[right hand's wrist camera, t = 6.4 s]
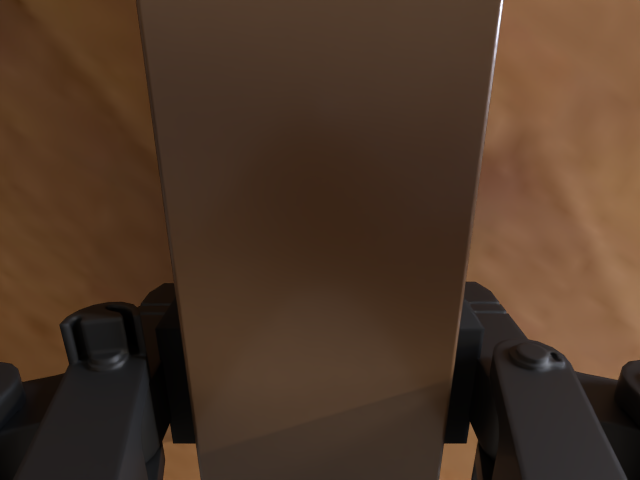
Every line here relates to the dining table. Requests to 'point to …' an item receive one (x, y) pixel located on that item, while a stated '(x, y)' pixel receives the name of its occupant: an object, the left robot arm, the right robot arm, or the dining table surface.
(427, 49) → the plank
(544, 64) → the dining table surface
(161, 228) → the dining table surface
